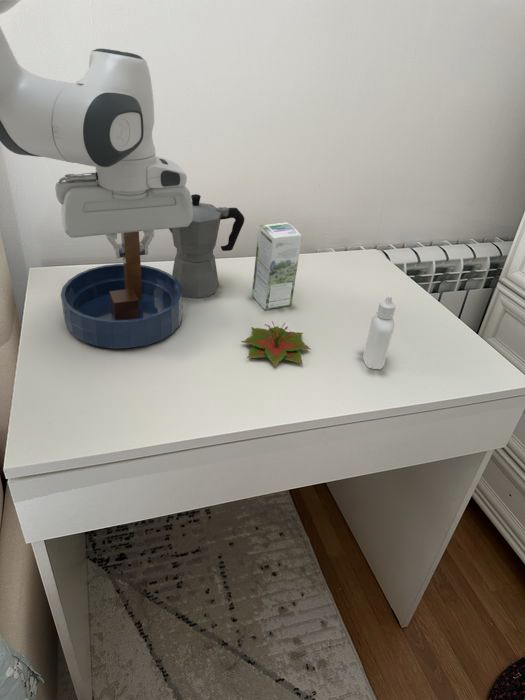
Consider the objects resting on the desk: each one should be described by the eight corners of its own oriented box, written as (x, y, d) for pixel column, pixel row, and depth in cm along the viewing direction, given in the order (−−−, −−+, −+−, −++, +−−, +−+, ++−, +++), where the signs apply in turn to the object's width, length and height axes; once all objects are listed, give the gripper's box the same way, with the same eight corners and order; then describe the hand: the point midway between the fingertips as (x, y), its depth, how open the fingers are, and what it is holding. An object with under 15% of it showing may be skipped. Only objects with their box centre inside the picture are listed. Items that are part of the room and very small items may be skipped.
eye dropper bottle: (392, 357, 88) (410, 294, 81) (378, 373, 84) (395, 308, 78) (368, 347, 90) (383, 284, 83) (353, 362, 86) (368, 298, 79)
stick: (128, 301, 92) (123, 224, 84) (125, 295, 94) (119, 219, 85) (142, 299, 93) (138, 223, 85) (139, 293, 94) (134, 217, 86)
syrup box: (278, 291, 103) (286, 220, 95) (292, 306, 99) (302, 233, 91) (251, 296, 101) (257, 223, 93) (265, 311, 97) (273, 237, 88)
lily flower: (311, 332, 93) (315, 309, 90) (312, 374, 83) (316, 350, 80) (242, 324, 93) (244, 302, 90) (235, 366, 83) (237, 342, 80)
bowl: (75, 361, 81) (71, 330, 77) (58, 299, 94) (53, 271, 91) (196, 339, 88) (197, 310, 85) (163, 284, 102) (163, 258, 99)
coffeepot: (161, 300, 97) (159, 204, 86) (157, 276, 104) (154, 185, 94) (244, 297, 100) (251, 204, 90) (235, 273, 108) (240, 185, 97)
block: (115, 323, 89) (113, 303, 86) (111, 311, 91) (109, 291, 89) (139, 320, 90) (138, 299, 88) (134, 308, 93) (133, 288, 91)
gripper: (56, 182, 74) (69, 271, 82) (196, 174, 82) (195, 256, 90) (50, 168, 79) (62, 253, 87) (183, 161, 87) (183, 240, 95)
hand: (131, 255), depth 88 cm, fingers closed on stick, 2 cm apart
